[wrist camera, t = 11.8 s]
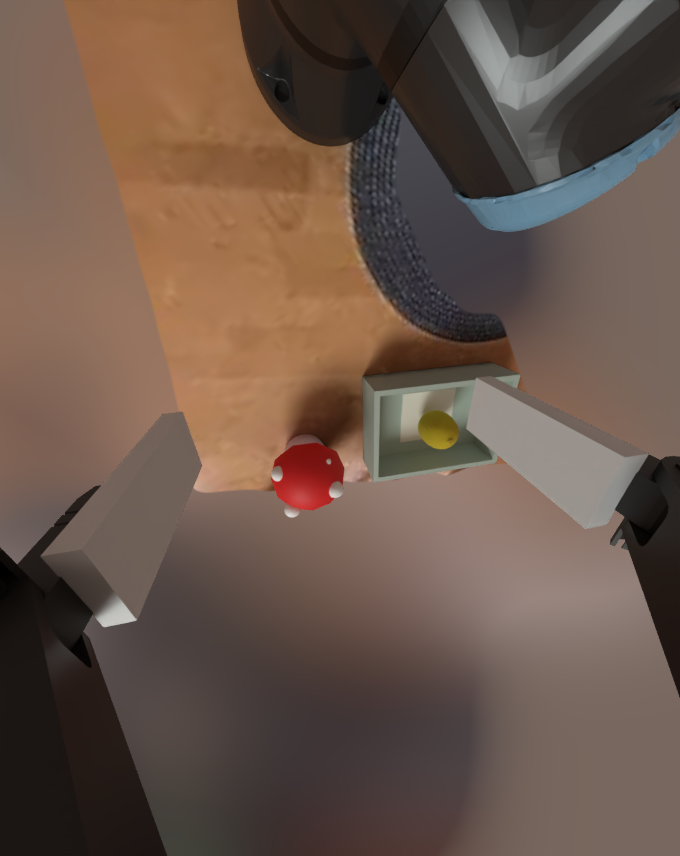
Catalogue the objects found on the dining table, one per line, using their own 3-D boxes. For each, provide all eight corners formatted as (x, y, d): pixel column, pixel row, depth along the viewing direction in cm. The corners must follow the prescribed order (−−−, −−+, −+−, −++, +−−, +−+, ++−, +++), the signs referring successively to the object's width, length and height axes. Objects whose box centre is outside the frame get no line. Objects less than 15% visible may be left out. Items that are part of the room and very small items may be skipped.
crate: (362, 376, 43) (374, 391, 37) (491, 362, 45) (520, 374, 40) (363, 459, 50) (373, 482, 45) (473, 442, 53) (496, 462, 47)
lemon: (437, 397, 45) (465, 419, 38) (444, 423, 48) (471, 448, 41) (406, 412, 46) (428, 436, 39) (415, 437, 48) (437, 464, 42)
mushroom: (267, 472, 48) (263, 526, 38) (278, 415, 43) (276, 460, 33) (326, 478, 51) (338, 530, 41) (343, 426, 46) (360, 470, 36)
